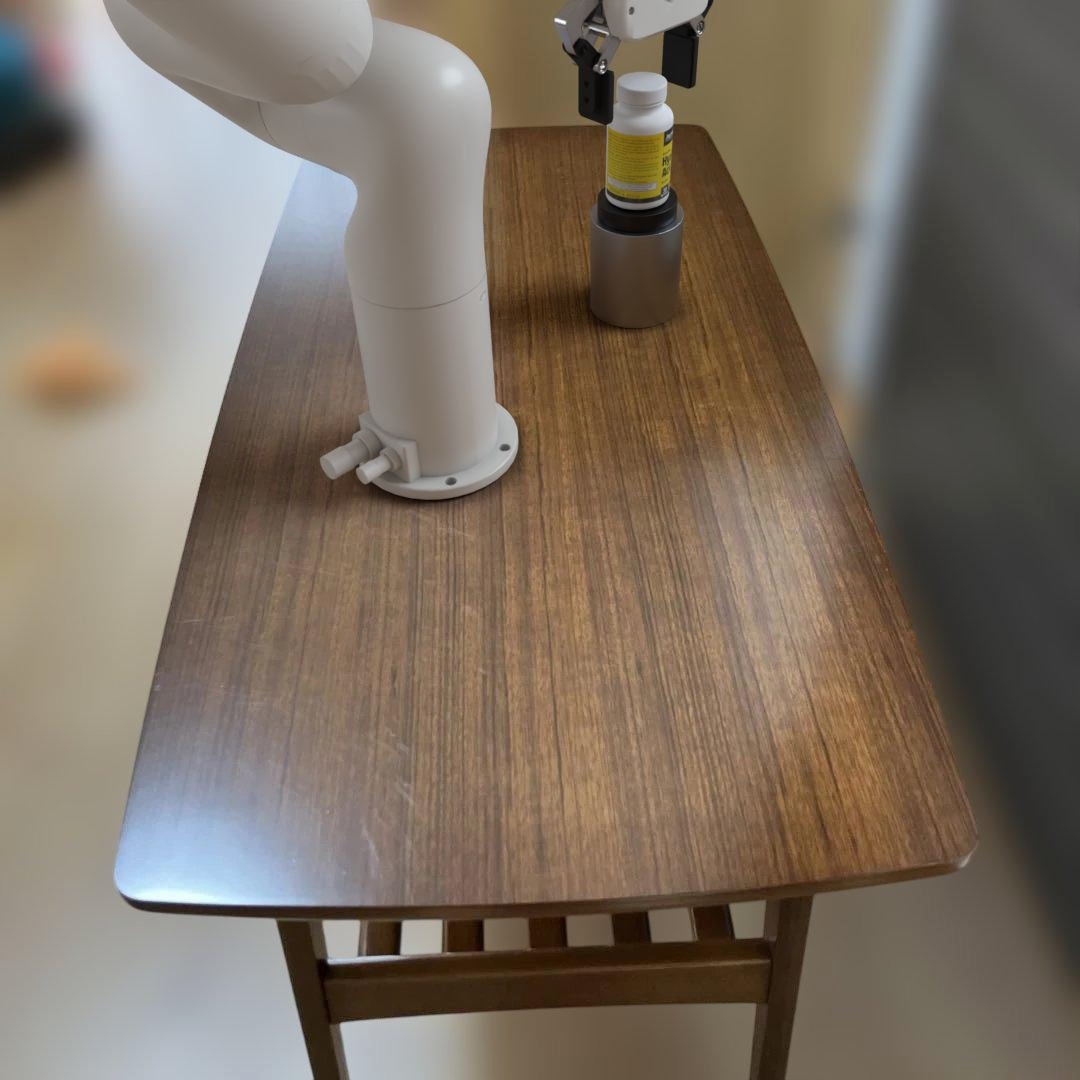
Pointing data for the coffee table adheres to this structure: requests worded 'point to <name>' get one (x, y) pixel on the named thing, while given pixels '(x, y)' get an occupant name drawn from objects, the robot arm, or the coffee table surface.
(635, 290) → the canister
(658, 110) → the supplement bottle
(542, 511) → the coffee table surface
